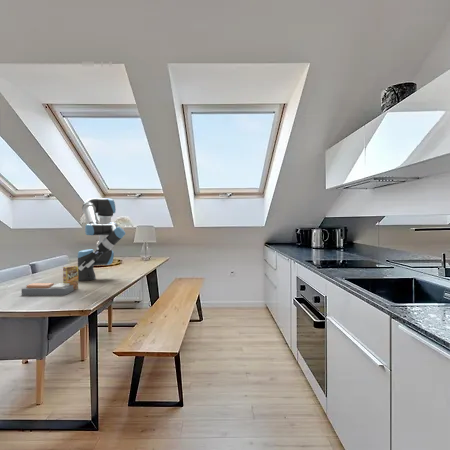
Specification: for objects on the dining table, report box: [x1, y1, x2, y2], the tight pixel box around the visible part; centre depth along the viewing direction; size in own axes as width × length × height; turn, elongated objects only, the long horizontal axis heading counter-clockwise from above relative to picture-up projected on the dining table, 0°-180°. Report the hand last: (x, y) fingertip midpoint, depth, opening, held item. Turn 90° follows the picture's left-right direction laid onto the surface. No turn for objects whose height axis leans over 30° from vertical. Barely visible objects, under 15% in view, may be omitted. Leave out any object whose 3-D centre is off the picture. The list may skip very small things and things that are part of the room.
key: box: [26, 282, 55, 288], centre depth 222 cm, size 8×13×2 cm, turn 93°
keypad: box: [21, 282, 74, 296], centre depth 222 cm, size 14×26×5 cm, turn 93°
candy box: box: [62, 265, 79, 290], centre depth 235 cm, size 9×4×15 cm, turn 146°
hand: (83, 268), depth 235 cm, fingers open, 13 cm apart
